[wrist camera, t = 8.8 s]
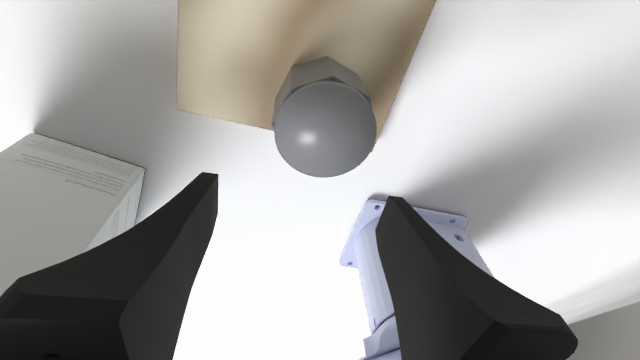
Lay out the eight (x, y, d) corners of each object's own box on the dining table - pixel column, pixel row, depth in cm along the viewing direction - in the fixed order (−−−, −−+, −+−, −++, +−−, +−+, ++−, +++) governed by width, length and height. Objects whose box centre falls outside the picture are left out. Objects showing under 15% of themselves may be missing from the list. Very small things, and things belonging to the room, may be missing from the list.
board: (432, -10, 17) (439, -9, 16) (369, 145, 23) (371, 152, 22) (186, -95, 15) (180, -98, 14) (181, 103, 20) (176, 109, 19)
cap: (368, 128, 21) (383, 164, 17) (293, 147, 21) (292, 186, 18) (353, 48, 18) (367, 71, 14) (266, 73, 18) (258, 101, 15)
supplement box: (29, 128, 20) (-245, 299, 10) (148, 167, 23) (23, 340, 12) (31, 207, 24) (-169, 391, 14) (133, 234, 26) (27, 410, 16)
